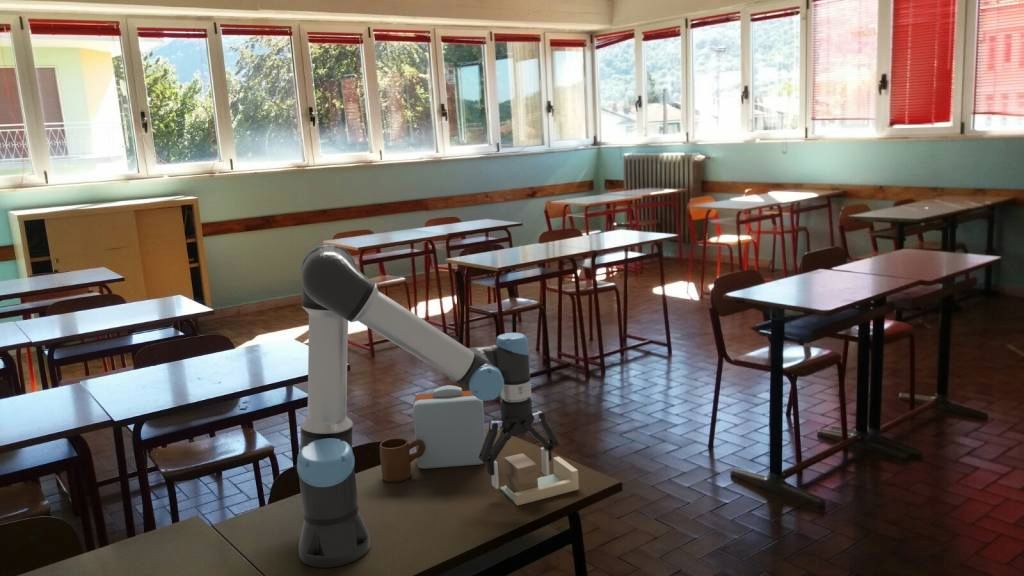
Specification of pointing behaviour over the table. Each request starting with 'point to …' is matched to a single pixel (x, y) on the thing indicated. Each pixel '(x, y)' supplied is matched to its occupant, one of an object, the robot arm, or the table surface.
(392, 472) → the mug
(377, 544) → the table surface
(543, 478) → the toy stand
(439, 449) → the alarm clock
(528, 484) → the block
